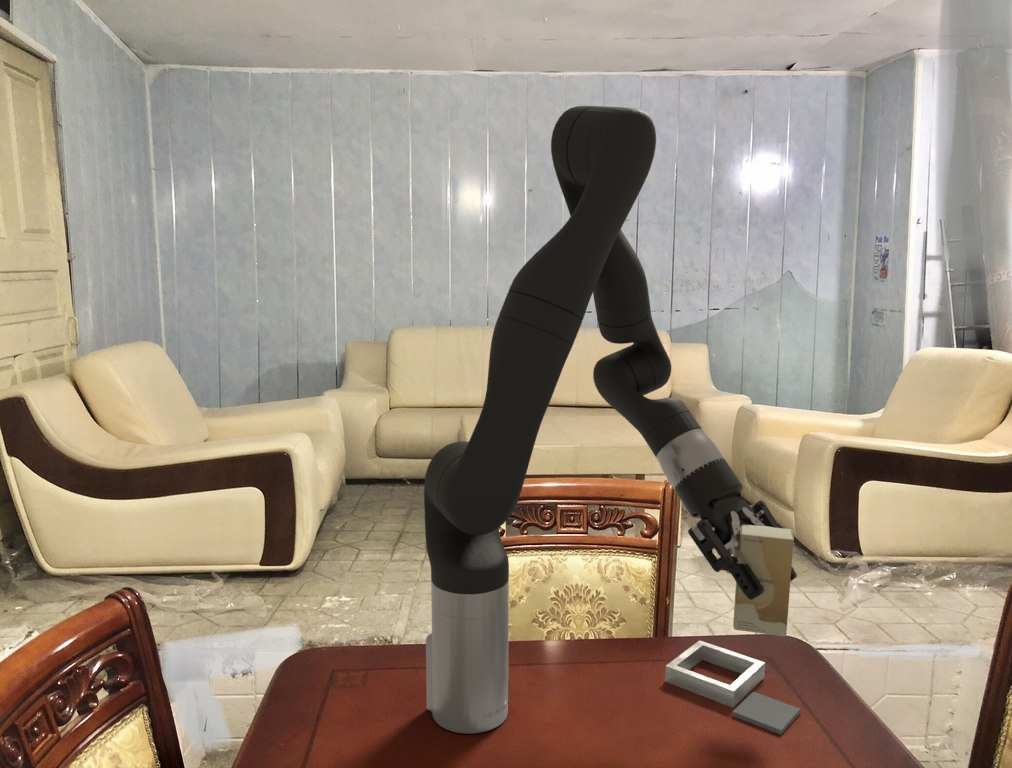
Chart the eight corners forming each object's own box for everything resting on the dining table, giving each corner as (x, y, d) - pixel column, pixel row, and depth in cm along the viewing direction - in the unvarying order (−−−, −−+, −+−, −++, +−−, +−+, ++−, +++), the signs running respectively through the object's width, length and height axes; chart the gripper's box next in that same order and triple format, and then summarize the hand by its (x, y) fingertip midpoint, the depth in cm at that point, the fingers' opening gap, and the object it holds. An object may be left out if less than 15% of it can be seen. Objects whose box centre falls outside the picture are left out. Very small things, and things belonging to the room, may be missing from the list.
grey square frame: (665, 681, 106) (665, 665, 105) (698, 655, 113) (699, 640, 113) (733, 707, 100) (733, 691, 99) (764, 678, 107) (765, 662, 106)
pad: (732, 715, 98) (732, 711, 98) (753, 696, 102) (753, 691, 102) (780, 734, 94) (781, 730, 94) (800, 713, 99) (800, 708, 98)
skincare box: (733, 631, 97) (737, 533, 95) (733, 617, 101) (737, 522, 100) (789, 638, 95) (794, 538, 94) (787, 623, 99) (792, 527, 98)
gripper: (681, 465, 96) (763, 589, 89) (749, 448, 106) (827, 560, 99) (645, 497, 101) (719, 618, 94) (712, 479, 110) (784, 587, 103)
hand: (774, 588), depth 96 cm, fingers closed on skincare box, 6 cm apart
